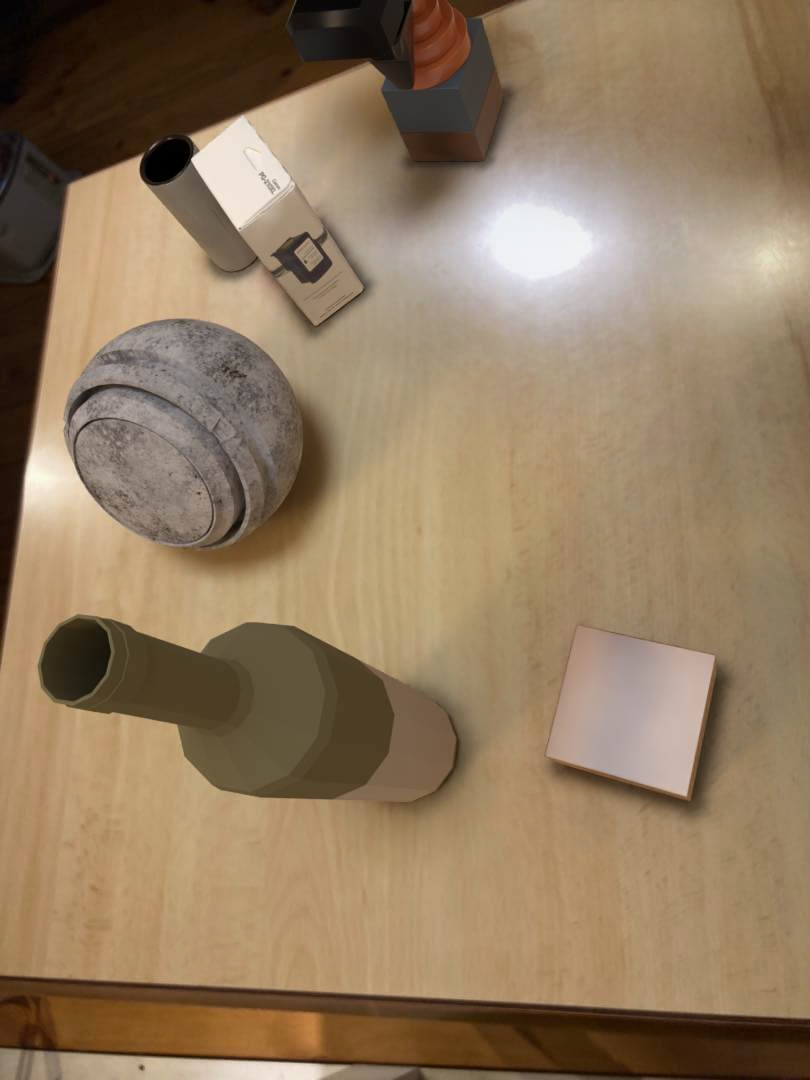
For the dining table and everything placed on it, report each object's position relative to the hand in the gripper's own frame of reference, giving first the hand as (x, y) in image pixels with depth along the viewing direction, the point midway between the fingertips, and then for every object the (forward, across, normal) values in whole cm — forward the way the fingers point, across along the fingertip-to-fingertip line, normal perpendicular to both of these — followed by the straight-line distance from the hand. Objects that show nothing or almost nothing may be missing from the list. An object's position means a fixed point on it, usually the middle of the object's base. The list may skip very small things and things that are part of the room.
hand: (424, 37), depth 57 cm
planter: (+9, +12, -16) cm, 21 cm away
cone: (+1, 0, 0) cm, 1 cm away
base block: (+8, 0, 0) cm, 8 cm away
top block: (+5, 0, 0) cm, 5 cm away
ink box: (+9, +14, -8) cm, 18 cm away
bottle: (+9, +46, +10) cm, 47 cm away
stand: (+8, +40, +23) cm, 47 cm away
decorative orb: (+9, +30, -8) cm, 33 cm away
